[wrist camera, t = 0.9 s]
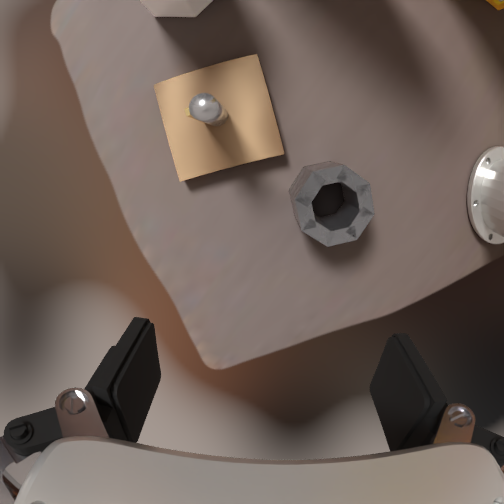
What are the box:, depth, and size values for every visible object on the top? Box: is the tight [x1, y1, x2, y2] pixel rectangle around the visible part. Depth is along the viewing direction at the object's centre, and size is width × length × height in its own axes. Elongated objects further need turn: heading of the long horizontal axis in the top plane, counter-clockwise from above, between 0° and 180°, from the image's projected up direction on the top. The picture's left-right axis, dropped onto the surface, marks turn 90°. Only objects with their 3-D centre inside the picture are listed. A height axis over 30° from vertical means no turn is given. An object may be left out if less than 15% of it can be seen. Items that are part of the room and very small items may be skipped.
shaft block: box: [154, 54, 284, 182], centre depth 26 cm, size 10×10×2 cm
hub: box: [289, 161, 374, 247], centre depth 27 cm, size 7×7×5 cm
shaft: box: [184, 93, 228, 126], centre depth 22 cm, size 2×2×7 cm
